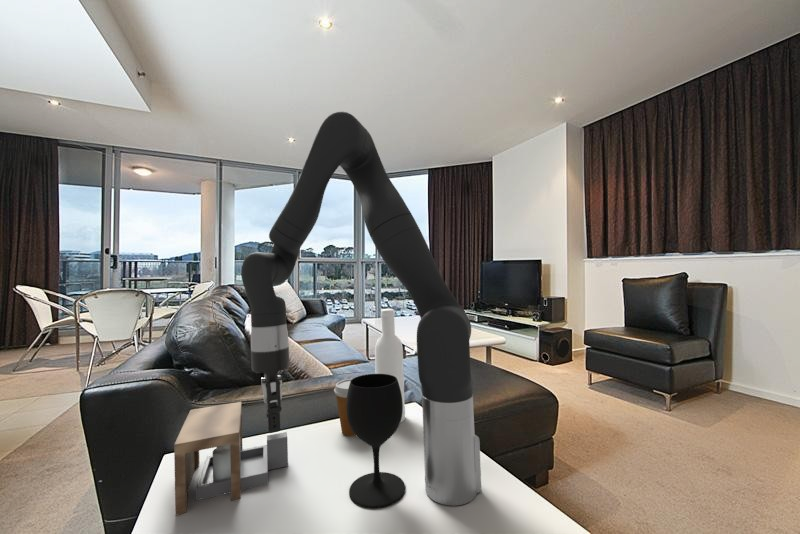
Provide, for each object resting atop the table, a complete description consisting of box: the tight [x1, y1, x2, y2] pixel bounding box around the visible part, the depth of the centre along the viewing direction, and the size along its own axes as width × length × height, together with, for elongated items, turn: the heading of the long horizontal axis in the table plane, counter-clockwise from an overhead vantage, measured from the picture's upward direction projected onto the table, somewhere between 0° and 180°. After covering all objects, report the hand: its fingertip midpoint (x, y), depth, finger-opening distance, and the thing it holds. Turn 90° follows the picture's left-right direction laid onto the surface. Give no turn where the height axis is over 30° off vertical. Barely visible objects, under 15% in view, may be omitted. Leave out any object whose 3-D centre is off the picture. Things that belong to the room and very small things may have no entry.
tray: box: [195, 431, 289, 501], centre depth 71 cm, size 16×12×7 cm
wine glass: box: [346, 373, 406, 510], centre depth 64 cm, size 10×10×20 cm
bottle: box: [374, 308, 406, 424], centre depth 95 cm, size 8×8×30 cm
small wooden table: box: [173, 401, 243, 516], centre depth 68 cm, size 10×17×12 cm, turn 23°
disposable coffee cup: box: [333, 378, 357, 437], centre depth 89 cm, size 10×10×12 cm
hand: (273, 423), depth 73 cm, fingers open, 8 cm apart
